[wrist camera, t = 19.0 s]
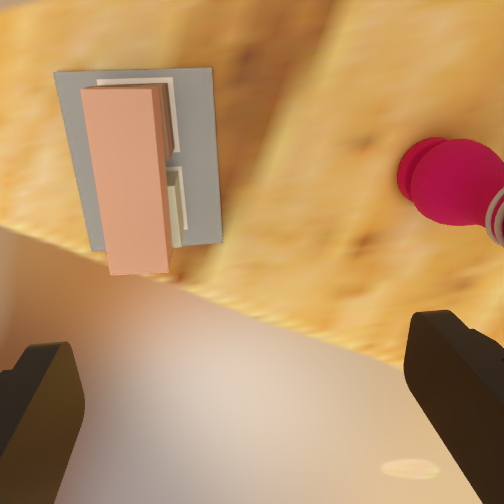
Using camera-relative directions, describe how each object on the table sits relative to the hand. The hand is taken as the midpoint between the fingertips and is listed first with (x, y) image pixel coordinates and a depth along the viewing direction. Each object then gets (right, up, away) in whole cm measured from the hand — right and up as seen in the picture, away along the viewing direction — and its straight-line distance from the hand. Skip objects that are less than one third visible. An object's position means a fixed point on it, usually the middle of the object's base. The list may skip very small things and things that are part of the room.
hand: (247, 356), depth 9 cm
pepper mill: (+17, +10, +29) cm, 35 cm away
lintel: (-8, +8, +19) cm, 23 cm away
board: (-9, +10, +25) cm, 29 cm away
